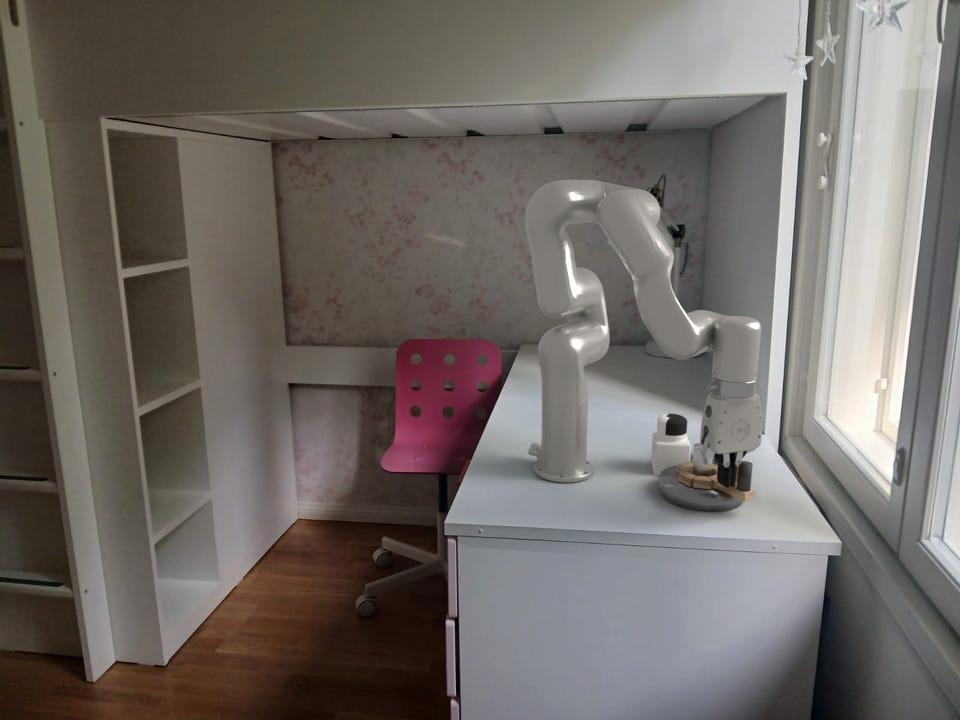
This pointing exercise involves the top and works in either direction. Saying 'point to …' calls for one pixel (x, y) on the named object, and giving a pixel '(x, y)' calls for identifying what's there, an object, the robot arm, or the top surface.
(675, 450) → the medicine bottle
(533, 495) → the top surface
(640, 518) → the top surface
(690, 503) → the post base
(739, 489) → the wrench
